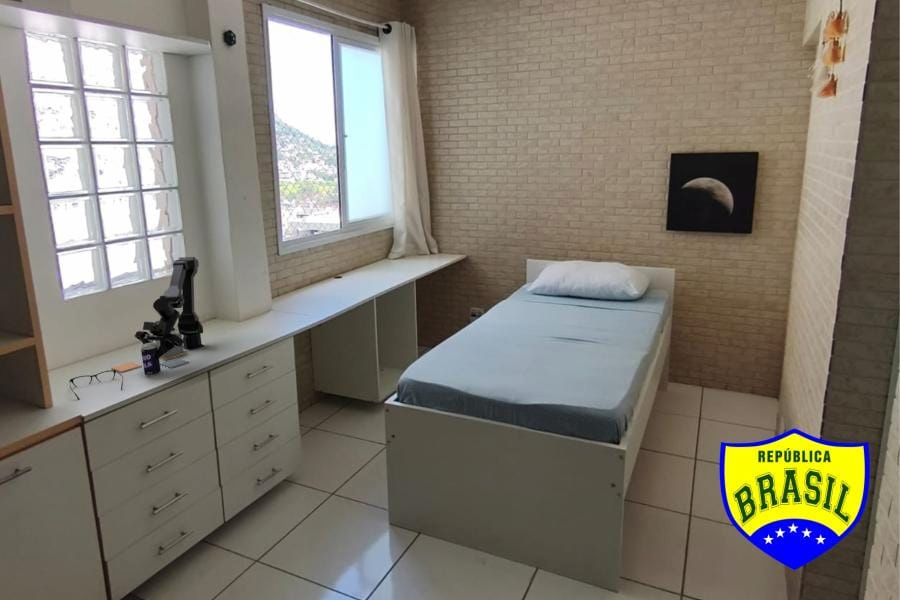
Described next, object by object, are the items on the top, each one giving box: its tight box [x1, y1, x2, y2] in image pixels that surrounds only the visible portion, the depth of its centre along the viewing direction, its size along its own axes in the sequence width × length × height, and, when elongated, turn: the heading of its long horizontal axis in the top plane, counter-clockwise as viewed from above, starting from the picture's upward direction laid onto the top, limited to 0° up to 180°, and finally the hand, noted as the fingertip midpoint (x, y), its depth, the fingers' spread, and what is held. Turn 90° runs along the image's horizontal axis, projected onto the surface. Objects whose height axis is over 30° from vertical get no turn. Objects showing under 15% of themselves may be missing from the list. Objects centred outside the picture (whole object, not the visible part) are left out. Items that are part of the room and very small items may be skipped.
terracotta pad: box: [111, 361, 143, 374], centre depth 239 cm, size 8×8×1 cm
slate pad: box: [160, 357, 190, 369], centre depth 243 cm, size 8×8×1 cm
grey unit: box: [155, 331, 188, 361], centre depth 252 cm, size 10×8×9 cm
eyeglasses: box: [68, 369, 124, 401], centre depth 218 cm, size 16×16×4 cm
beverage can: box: [140, 342, 162, 377], centre depth 230 cm, size 6×6×12 cm
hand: (149, 358), depth 230 cm, fingers closed on beverage can, 6 cm apart
